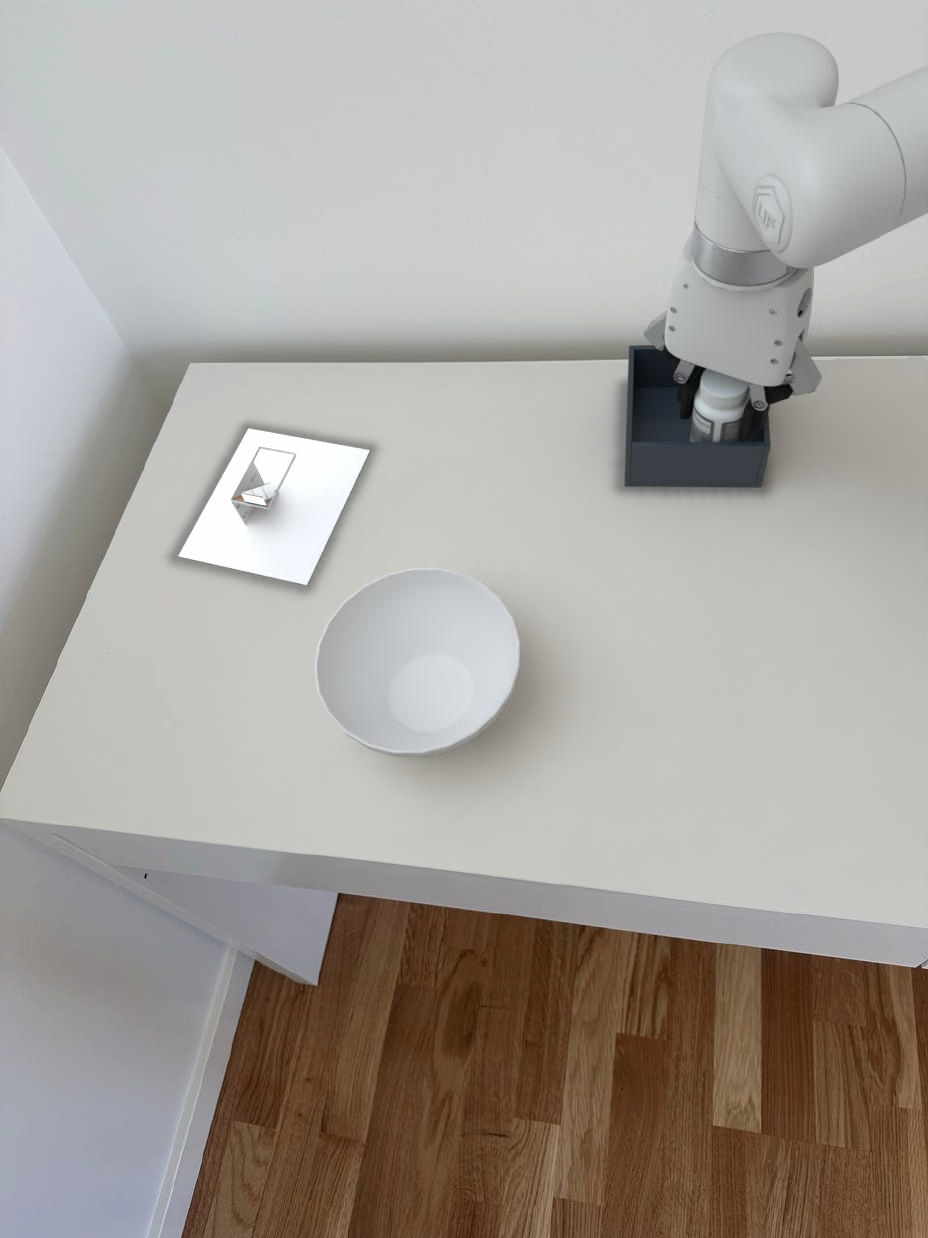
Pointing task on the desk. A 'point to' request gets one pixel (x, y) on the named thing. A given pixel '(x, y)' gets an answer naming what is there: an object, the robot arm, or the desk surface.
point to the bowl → (418, 662)
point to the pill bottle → (718, 408)
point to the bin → (679, 435)
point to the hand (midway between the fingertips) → (720, 417)
